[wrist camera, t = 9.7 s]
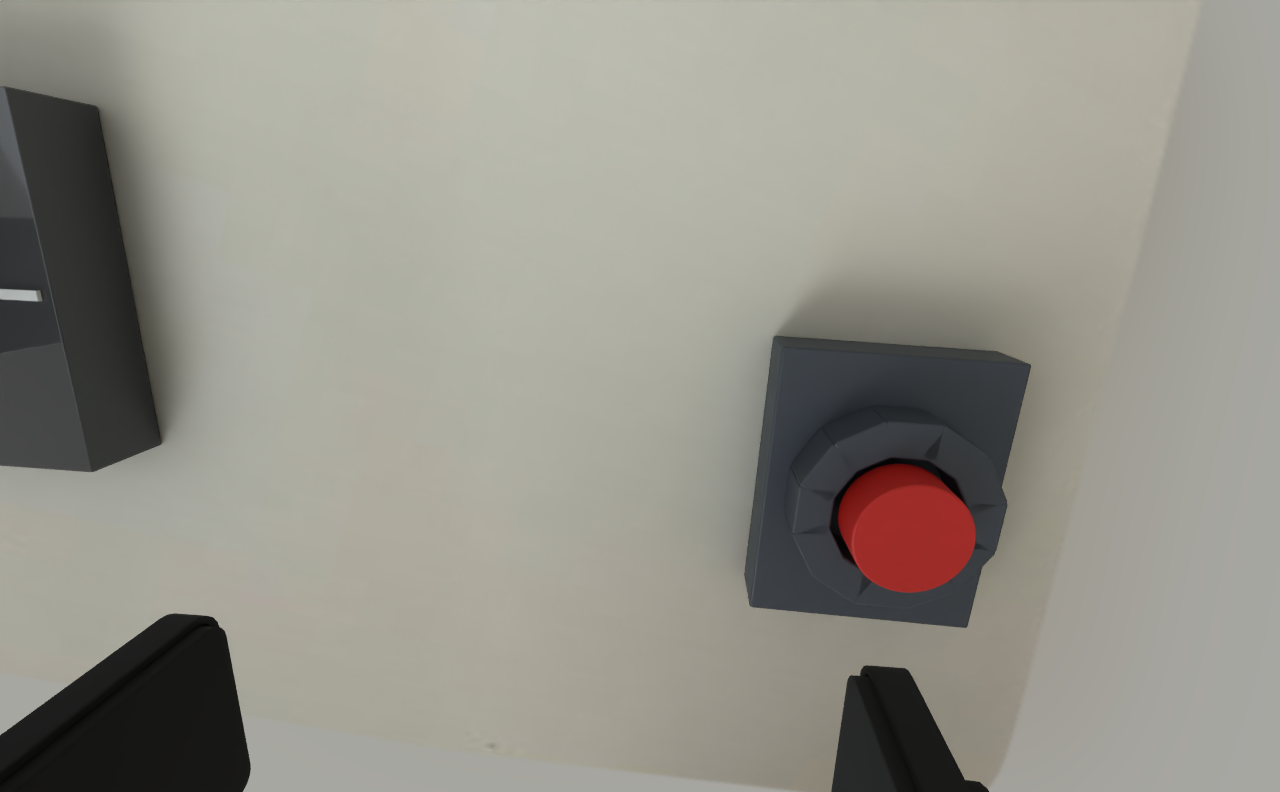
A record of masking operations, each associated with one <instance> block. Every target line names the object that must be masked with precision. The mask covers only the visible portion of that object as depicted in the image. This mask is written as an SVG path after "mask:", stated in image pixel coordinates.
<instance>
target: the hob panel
mask: <svg viewBox="0 0 1280 792" xmlns="http://www.w3.org/2000/svg"><path fill="white" fill-rule="evenodd" d="M159 445H161V441H160V436H159V431H158V426H157V420H156V415H155V410H154V405H153V399H152V394H151V389H150V383H149V378H148V373H147V368H146V362H145V357H144V352H143V347H142V341H141V336H140V331H139V326H138V320H137V315H136V310H135V304H134V299H133V294H132V289H131V283H130V278H129V273H128V268H127V262H126V257H125V252H124V246H123V241H122V236H121V231H120V225H119V220H118V215H117V210H116V204H115V199H114V194H113V188H112V183H111V178H110V173H109V167H108V162H107V157H106V152H105V146H104V141H103V136H102V131H101V125H100V120H99V115H98V109H97V106H94V105H90V104H85V103H81V102H76V101H71V100H67V99H62V98H57V97H53V96H48V95H43V94H39V93H34V92H29V91H25V90H20V89H15V88H11V87H6V86H0V465H1V466H15V467H29V468H42V469H56V470H70V471H83V472H94V471H97V470H99V469H102V468H104V467H107V466H109V465H112V464H114V463H117V462H119V461H122V460H124V459H126V458H129V457H131V456H134V455H136V454H139V453H141V452H144V451H146V450H149V449H151V448H154V447H156V446H159Z"/></svg>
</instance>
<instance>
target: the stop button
mask: <svg viewBox="0 0 1280 792" xmlns="http://www.w3.org/2000/svg"><path fill="white" fill-rule="evenodd" d="M838 524H839V529H840V532H841V535H842V537H843V539H844V541H845V543H846V545H847V547H848V549H849V551H850V553H851V555H852V557H853V558H854V560H855V562H856V564H857V566H858V568H859V569H860V570H861V572H862V573H863V574H864V575H865V576H866V577H867V578H868V579H870V580H871V581H872V582H874V583H876V584H877V585H879V586H881V587H884V588H886V589H889V590H892V591H897V592H906V593H913V592H922V591H927V590H930V589H934V588H936V587H938V586H941V585H943V584H944V583H946V582H948V581H949V580H951V579H952V578H954V577H955V576H956V575H957V574H958V573H959V572H960V571H961V570H962V569H963V568H964V567H965V565H966V564H967V562H968V561H969V559H970V557H971V555H972V553H973V550H974V546H975V540H976V529H975V523H974V520H973V517H972V515H971V513H970V511H969V509H968V508H967V506H966V505H965V504H964V503H963V502H962V501H961V500H960V499H959V498H958V497H957V496H956V495H955V494H954V493H953V492H952V491H951V490H950V489H949V488H948V487H947V486H946V485H945V484H944V483H943V482H942V481H941V480H940V479H939V478H938V477H937V476H935V475H934V474H933V473H931V472H929V471H928V470H926V469H924V468H921V467H918V466H915V465H910V464H888V465H883V466H880V467H877V468H874V469H872V470H870V471H868V472H866V473H864V474H863V475H861V476H860V477H859V478H857V479H856V480H855V481H854V482H853V483H852V484H851V485H850V487H849V488H848V489H847V491H846V492H845V494H844V496H843V498H842V500H841V503H840V506H839V511H838Z"/></svg>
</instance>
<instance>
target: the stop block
mask: <svg viewBox="0 0 1280 792" xmlns="http://www.w3.org/2000/svg"><path fill="white" fill-rule="evenodd" d="M1030 369H1031V365H1030V364H1028V363H1025V362H1023V361H1020V360H1018V359H1015V358H1012V357H1010V356H1007V355H1005V354H1002V353H999V352H996V351H982V350H968V349H954V348H940V347H925V346H911V345H897V344H883V343H869V342H855V341H840V340H826V339H812V338H798V337H784V336H774V338H773V344H772V352H771V360H770V368H769V377H768V385H767V393H766V401H765V410H764V418H763V426H762V434H761V443H760V451H759V459H758V467H757V475H756V484H755V492H754V500H753V508H752V517H751V525H750V533H749V541H748V550H747V558H746V566H745V574H744V575H745V581H746V587H747V592H748V598H749V604H750V606H751V607H756V608H767V609H777V610H787V611H798V612H808V613H818V614H828V615H839V616H849V617H859V618H870V619H880V620H890V621H900V622H911V623H921V624H931V625H942V626H952V627H962V628H966V627H967V626H968V622H969V618H970V614H971V610H972V605H973V601H974V597H975V593H976V589H977V585H978V581H979V577H980V573H981V569H982V566H983V565H984V564H985V563H986V562H987V561H988V560H989V559H990V558H991V557H992V556H993V555H994V554H995V551H996V549H997V545H998V541H999V537H1000V533H1001V529H1002V525H1003V521H1004V517H1005V513H1006V509H1007V500H1006V497H1005V495H1004V492H1003V489H1002V483H1003V479H1004V475H1005V471H1006V467H1007V463H1008V458H1009V454H1010V450H1011V446H1012V442H1013V438H1014V434H1015V430H1016V426H1017V422H1018V418H1019V414H1020V409H1021V405H1022V401H1023V397H1024V393H1025V389H1026V385H1027V381H1028V377H1029V373H1030ZM888 464H910V465H915V466H918V467H921V468H924V469H926V470H928V471H929V472H931V473H933V474H934V475H935V476H937V477H938V478H939V479H940V480H941V481H942V482H943V483H944V484H945V485H946V486H947V487H948V488H949V489H950V490H951V491H952V492H953V493H954V494H955V495H956V496H957V497H958V498H959V499H960V500H961V501H962V502H963V503H964V504H965V505H966V506H967V508H968V509H969V511H970V513H971V515H972V517H973V520H974V523H975V529H976V540H975V546H974V550H973V553H972V555H971V557H970V559H969V561H968V562H967V564H966V565H965V567H964V568H963V569H962V570H961V571H960V572H959V573H958V574H957V575H956V576H955V577H954V578H952V579H951V580H949V581H948V582H946V583H944V584H943V585H941V586H938V587H936V588H934V589H930V590H927V591H922V592H913V593H906V592H897V591H892V590H889V589H886V588H884V587H881V586H879V585H877V584H876V583H874V582H872V581H871V580H870V579H868V578H867V577H866V576H865V575H864V574H863V573H862V572H861V570H860V569H859V568H858V566H857V564H856V562H855V560H854V558H853V557H852V555H851V553H850V551H849V549H848V547H847V545H846V543H845V541H844V539H843V537H842V535H841V532H840V529H839V524H838V511H839V506H840V503H841V500H842V498H843V496H844V494H845V492H846V491H847V489H848V488H849V487H850V485H851V484H852V483H853V482H854V481H855V480H856V479H857V478H859V477H860V476H861V475H863V474H864V473H866V472H868V471H870V470H872V469H874V468H877V467H880V466H883V465H888Z"/></svg>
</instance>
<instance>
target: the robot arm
mask: <svg viewBox="0 0 1280 792" xmlns="http://www.w3.org/2000/svg"><path fill="white" fill-rule="evenodd" d="M250 769H251V768H250V759H249V754H248V749H247V743H246V738H245V733H244V727H243V722H242V717H241V711H240V706H239V701H238V695H237V690H236V685H235V679H234V674H233V669H232V663H231V658H230V653H229V647H228V642H227V637H226V634H225V631H224V630H223V629H222V628H219V625H218V622H217V621H216V620H215V619H214V618H213V617H209V616H201V615H187V614H169V615H166V616H164V617H163V618H161V619H159V620H158V621H156V622H155V623H154V624H152V625H151V626H149V627H148V628H147V629H145V630H144V631H143V632H141V633H140V634H138V635H137V636H136V637H134V638H133V639H132V640H130V641H129V642H128V643H126V644H125V645H123V646H122V647H121V648H119V649H118V650H117V651H115V652H114V653H112V654H111V655H110V656H108V657H107V658H106V659H104V660H103V661H101V662H100V663H99V664H97V665H96V666H95V667H93V668H92V669H91V670H89V671H88V672H86V673H85V674H84V675H82V676H81V677H80V678H78V679H77V680H75V681H74V682H73V683H71V684H70V685H69V686H67V687H66V688H64V689H63V690H62V691H60V692H59V693H58V694H57V695H55V696H54V697H52V698H51V699H50V700H48V701H47V702H45V703H44V704H43V705H41V706H40V707H38V708H37V709H36V710H34V711H33V712H32V713H31V714H29V715H27V716H26V717H25V718H24V719H22V720H21V721H19V722H18V723H17V724H15V725H14V726H13V727H11V728H10V729H8V730H7V731H6V732H4V733H3V734H1V735H0V792H243V790H244V788H245V786H246V784H247V782H248V779H249V776H250ZM831 792H989V791H988V789H987V788H986V787H985V786H983V785H982V784H981V783H980V782H976V781H968V780H965V779H964V777H963V775H962V773H961V771H960V769H959V768H958V766H957V764H956V762H955V760H954V758H953V756H952V754H951V752H950V750H949V748H948V746H947V744H946V742H945V740H944V738H943V736H942V734H941V732H940V730H939V728H938V726H937V724H936V722H935V720H934V718H933V716H932V715H931V713H930V711H929V709H928V707H927V705H926V703H925V701H924V699H923V697H922V695H921V693H920V691H919V689H918V687H917V685H916V683H915V681H914V679H913V677H912V676H911V674H910V672H909V671H908V670H906V669H905V668H894V667H880V666H867V665H866V666H863V668H862V670H861V673H860V676H853V675H851V676H849V678H848V682H847V688H846V695H845V701H844V708H843V715H842V722H841V729H840V736H839V743H838V750H837V757H836V764H835V771H834V777H833V784H832V791H831Z"/></svg>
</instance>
